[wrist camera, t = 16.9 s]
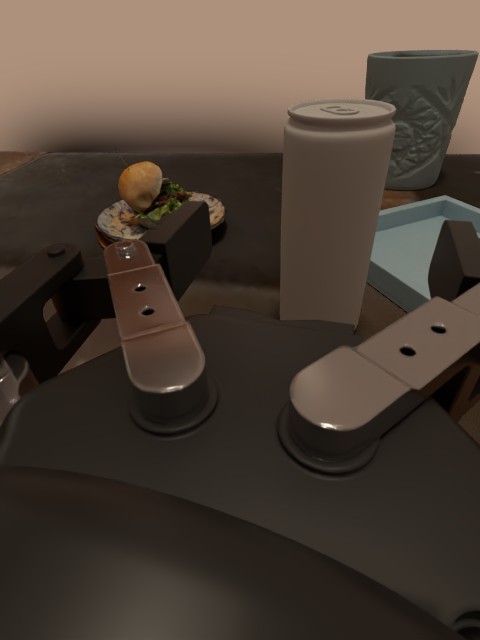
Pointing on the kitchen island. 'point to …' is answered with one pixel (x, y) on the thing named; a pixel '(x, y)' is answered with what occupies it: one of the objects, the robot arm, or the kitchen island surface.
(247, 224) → the kitchen island surface
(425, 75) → the green embossed cup
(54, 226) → the kitchen island surface
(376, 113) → the beverage can
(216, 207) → the burger
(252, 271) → the kitchen island surface
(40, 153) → the kitchen island surface
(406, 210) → the tray
